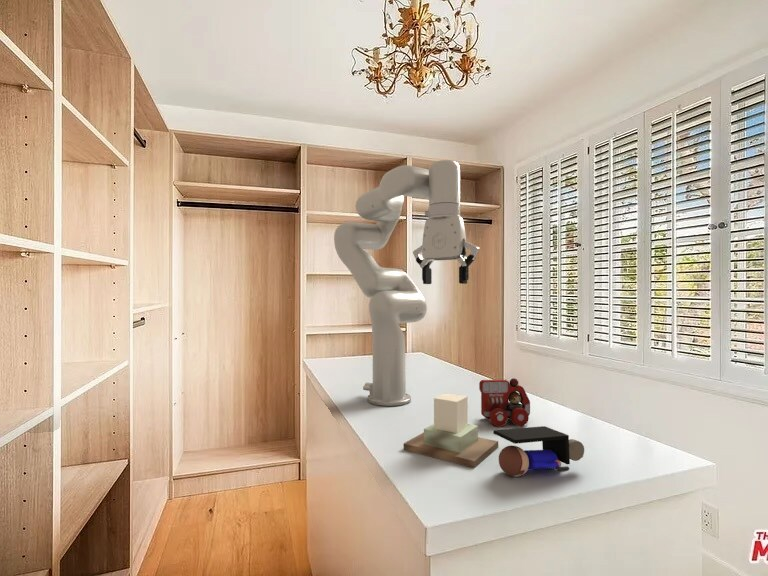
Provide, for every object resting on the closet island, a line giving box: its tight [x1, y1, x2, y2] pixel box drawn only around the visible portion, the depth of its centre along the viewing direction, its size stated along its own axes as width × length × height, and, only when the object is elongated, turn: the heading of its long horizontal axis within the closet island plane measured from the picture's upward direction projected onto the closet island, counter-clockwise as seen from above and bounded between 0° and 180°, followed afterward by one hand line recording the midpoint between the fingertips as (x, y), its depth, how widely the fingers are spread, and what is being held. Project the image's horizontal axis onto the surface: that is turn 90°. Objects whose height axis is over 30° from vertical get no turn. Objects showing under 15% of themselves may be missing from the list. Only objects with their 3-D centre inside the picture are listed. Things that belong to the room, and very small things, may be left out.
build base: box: [403, 423, 499, 469], centre depth 84 cm, size 15×12×4 cm
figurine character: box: [492, 425, 585, 478], centre depth 74 cm, size 7×8×15 cm
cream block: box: [433, 392, 469, 433], centre depth 84 cm, size 5×5×6 cm
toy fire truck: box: [478, 377, 531, 428], centre depth 101 cm, size 7×12×10 cm, turn 97°
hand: (444, 283), depth 102 cm, fingers open, 9 cm apart
